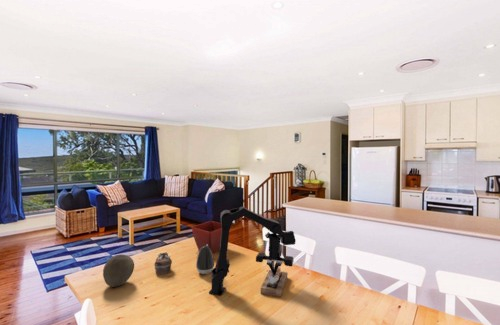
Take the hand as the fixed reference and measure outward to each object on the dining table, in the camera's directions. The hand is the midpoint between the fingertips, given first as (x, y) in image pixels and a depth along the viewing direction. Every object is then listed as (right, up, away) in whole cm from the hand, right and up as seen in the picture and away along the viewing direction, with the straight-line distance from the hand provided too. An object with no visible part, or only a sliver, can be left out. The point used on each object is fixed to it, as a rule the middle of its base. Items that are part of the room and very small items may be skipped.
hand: (274, 275), depth 127 cm
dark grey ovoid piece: (-38, -5, +15) cm, 41 cm away
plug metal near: (-2, -3, -5) cm, 6 cm away
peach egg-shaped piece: (+2, -3, +5) cm, 7 cm away
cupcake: (-63, -5, +16) cm, 65 cm away
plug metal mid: (0, -5, 0) cm, 5 cm away
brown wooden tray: (0, -5, 0) cm, 5 cm away
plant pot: (-41, -4, +48) cm, 63 cm away
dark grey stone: (-81, -6, +2) cm, 81 cm away
